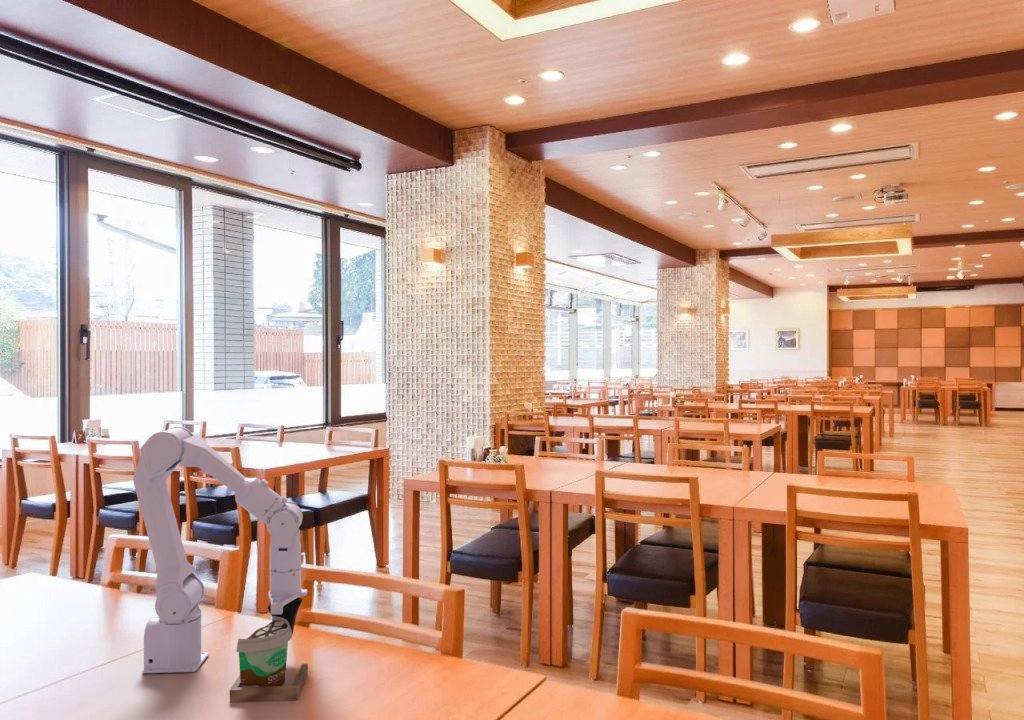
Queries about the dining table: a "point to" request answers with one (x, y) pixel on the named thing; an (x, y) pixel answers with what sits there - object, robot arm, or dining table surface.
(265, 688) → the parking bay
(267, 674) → the food container
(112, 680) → the dining table surface
